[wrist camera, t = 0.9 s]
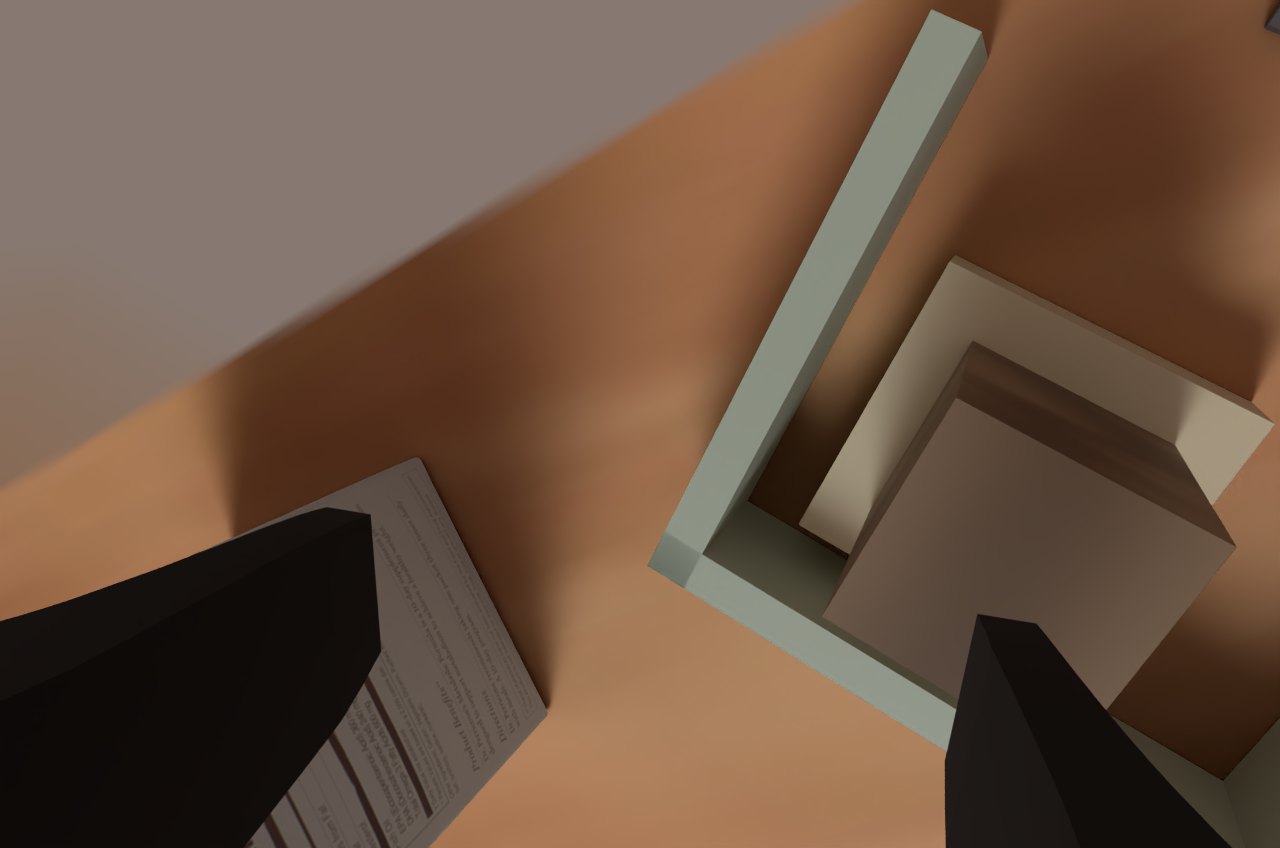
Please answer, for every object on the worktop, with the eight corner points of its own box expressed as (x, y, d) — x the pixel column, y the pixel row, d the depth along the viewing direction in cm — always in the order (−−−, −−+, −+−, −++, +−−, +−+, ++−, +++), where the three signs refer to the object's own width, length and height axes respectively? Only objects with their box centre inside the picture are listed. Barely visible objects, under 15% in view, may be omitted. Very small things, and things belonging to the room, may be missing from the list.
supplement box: (423, 447, 29) (-253, 745, 13) (559, 714, 29) (55, 1296, 14) (224, 549, 33) (-468, 867, 17) (346, 782, 33) (-226, 1290, 18)
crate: (1677, 365, 18) (1846, 411, 14) (1237, 834, 22) (1279, 958, 19) (946, 40, 21) (931, 9, 17) (699, 511, 26) (647, 565, 22)
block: (1175, 445, 19) (1237, 547, 14) (1051, 613, 21) (1063, 763, 15) (972, 340, 20) (955, 397, 15) (870, 509, 22) (821, 616, 16)
